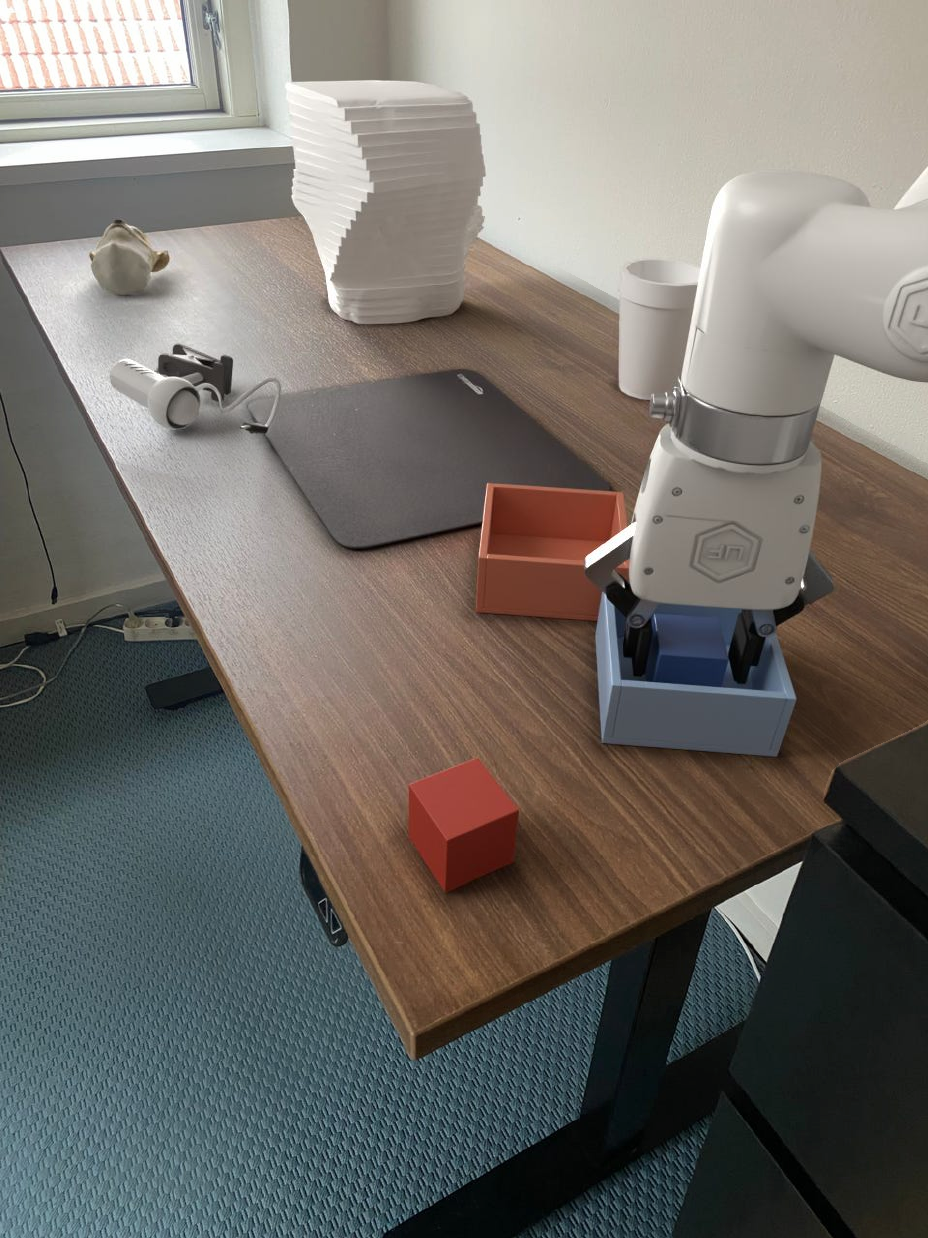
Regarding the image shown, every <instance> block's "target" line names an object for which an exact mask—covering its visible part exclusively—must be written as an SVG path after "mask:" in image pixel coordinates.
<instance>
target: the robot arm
mask: <svg viewBox="0 0 928 1238" xmlns="http://www.w3.org/2000/svg"><path fill="white" fill-rule="evenodd" d="M711 207H712V208H711V211H710V216H709V221H708V226H707V231H706V237H705V243H704V248H703V253H702V259H701V264H700V267H701V270H700V275H699V281H698V286H697V292H696V297H695V303H694V308H693V314H692V320H691V325H690V331H689V336H688V342H687V347H686V353H685V359H684V364H683V369H682V372H681V375H680V377H678V382H677V387H673V390H672V392H665V394H652V395H651V399H650V400H649V406H648V407H649V408H648V415H649V416H648V417H649V418H650V419H661V421H663V422H668V423H666V424H665V425H664V426H663V427H662V428H661V429H660V431H659V433H658V436H657V438H656V440H655V443H654V446H653V448H652V451H651V453H650V456H649V459H648V461H647V464H646V467H645V470H644V473H643V477H642V480H641V484H640V488H639V490H638V491H639V492H638V494H637V499H636V503H635V506H634V510H633V513H632V515H633V516H632V519H631V524H630V525H629V526H628V528H626V529H625V530H624V531H622V532H621V533H619V534H618V535H617V536H615V537H614V538H612V539H611V540H609V541H608V542H607V543H605V544H604V545H602V546H601V547H600V548H598V549H597V550H595V551H594V552H592V553H591V554H590V555H588V556H587V557H586V558H585V559H584V574H585V576H586V577H587V578H588V579H589V580H590V581H591V582H592V583H593V584H594V585H595V586H596V587H597V588H598V589H599V590H600V591H601V590H602V591H603V592H604V593H605V594H606V596H607V599H608V600H609V601H610V602H611V603H612V604H613V605H614V606H615V607H616V608H617V609H618V610H619V611H620V612H621V613H622V614H623V615H624V616H625V617H626V618H627V622H626V628H625V634H624V640H623V656H624V657H625V658H631V659H632V668H633V676H636V677H642V675H645V671H646V666H647V661H648V656H649V651H650V646H651V640H652V635H653V628H652V622H651V616H652V614H653V613H654V612H655V610H656V609H657V608H658V606H659V605H660V603H661V604H672V605H685V606H699V607H713V608H729V609H742V612H741V613H739V614H738V617H737V621H736V625H735V629H734V633H733V636H732V640H731V644H730V648H729V652H728V658H729V663H730V667H731V671H732V675H733V679H734V681H736V682H737V684H746V682H747V678H748V675H749V671H750V668H751V666H755V667H756V666H757V665H758V663H759V660H760V656H761V653H762V649H763V646H764V642H765V639H766V637H769V636H771V635H773V634H774V633H775V632H776V633H777V627H778V626H780V625H782V624H783V623H785V622H786V621H788V620H790V619H792V618H794V617H795V616H797V615H799V614H801V613H802V612H803V611H804V609H805V607H806V606H807V605H812V604H814V603H815V602H818V601H819V600H821V599H822V598H824V597H826V596H828V595H829V594H831V593H832V592H834V591H835V589H836V584H835V582H834V580H833V577H832V575H831V573H830V570H828V569H827V567H826V566H825V565H824V564H823V562H822V561H821V560H820V559H819V558H818V556H817V555H816V554H815V553H814V552H813V550H812V549H811V544H812V539H813V534H814V528H815V523H816V516H817V510H818V504H819V497H820V487H821V478H822V457H823V456H822V453H821V452H820V450H819V449H818V448H817V446H816V445H815V443H814V442H813V441H812V440H811V439H812V436H813V433H814V428H815V425H816V422H817V418H818V414H819V411H820V407H821V404H822V401H823V398H824V395H825V394H824V393H825V390H826V387H827V383H828V380H829V376H830V373H831V369H832V365H833V362H834V358H835V356H838V357H841V358H843V359H845V360H848V361H851V362H853V363H856V364H858V365H861V366H863V367H866V368H869V369H871V370H874V371H877V372H879V373H882V374H884V375H887V376H890V377H894V378H898V379H902V380H905V381H911V382H917V383H927V384H928V165H927V167H925V169H924V170H923V171H922V173H921V174H919V176H918V177H917V179H916V180H915V181H914V182H913V183H912V185H911V186H910V187H909V188H908V189H907V191H905V193H904V195H903V196H902V197H901V199H900V200H899V201H898V202H897V204H896V205H895V206H894V208H883V207H872V206H871V203H870V200H869V198H868V195H866V193H865V192H864V191H863V190H862V189H861V188H860V187H858V186H857V185H855V184H853V183H851V182H849V181H847V180H844V179H842V178H839V177H835V176H830V175H827V174H822V173H816V172H815V173H814V172H809V171H799V170H782V169H777V170H775V169H771V170H770V169H767V170H757V171H749V172H747V173H743V174H738V175H737V176H735V177H733V178H732V179H730V180H729V181H727V182H726V183H725V184H724V185H723V186H722V187H721V188H720V190H719V191H718V193H717V194H716V197H715V199H714V202H713V204H712V206H711ZM628 559H630V563H629V580H630V583H629V582H628V581H627V580H626V579H625V578H624V577H623V576H622V575H620V574H618V573H616V572H615V570H614V569H615V568H616V567H618V566H619V565H621V564H622V563H624V562H625V561H627V560H628Z"/></svg>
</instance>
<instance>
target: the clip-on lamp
mask: <svg viewBox="0 0 928 1238" xmlns="http://www.w3.org/2000/svg"><path fill="white" fill-rule="evenodd" d="M157 360H158V361H157V368H156V369H155V370H152V369H150V368H148V367H146V366H144V365H143V364H140V363H138V362H136V361H134V360H132V359H129V358H123V359H120V360H118V361H117V362H115V363H114V364H113V365H112V367H111V369H110V371H109V382H110V384H111V386H112V388H113V389H114V390H116V391H117V392H119V393H120V394H122V395H124V396H125V397H127V398H129V399H131V400H132V401H134V402H136V403H138V404H139V405H141V406H142V407H145V409H148V411H149V414H150V415H151V418H152V419H153V420H154V421H155V422H156V423H157V424H159V425H160V426H161V427H163V428H165V429H169V430H172V431H179V430H184V429H186V428H188V427H189V426H190V425H191V424H192V423H194V421H196V420H197V418H198V417H199V414H200V408H201V403H202V402H201V395H200V393H199V392H200V391H201V390H203V391H207V392H209V393H210V398H211V400H212V401H214V402H217V403H218V404H219V410H220V412H221V413H222V414H227V413H229V412H231V411H232V410H234V409H235V408H237V407H238V406H239V405H240V404H242V403H243V402H244V401H245V400H246V399H247V398H249V397H251V395H253V393H254V392H256V391H257V390H258V389H260V388H261V387H262V386H264V385H267V384H268V383H271V382H272V383H275V384H276V395H275V396H276V399H275V403H274V406H273V409H272V412H271V415H270V417H269V419H268V421H267V423H266V424H265V426H264V425H262V424H259V423H257V422H251V421H243V423H242V425H241V426H239V429H240V430H245V431H247V432H248V433H249V434H252V435H253V434H256V435H258V434H264V435H265V434H266V433H267V431H268V427H269V426H270V425H271V423H272V421H273V419H274V416H275V413H276V410H277V407H278V403H279V399H280V395H281V389H282V388H281V383H280V380H279V379H278V378H276V377H268V378H265V379H263V380H260V381H259V382H258V383H256V384H255V385H253V386H252V387H251V388H249V389H248V390H247V391H246V392H244V393H243V394H242V395H241V396H240V397H238V398H237V399H236V400H235V401H233V402H232V403H230V404H229V405H228V406H226V407H223V401H224V400H225V396H228V395H230V394H231V393H232V382H233V369H234V359H233V357H231V356H229V355H227V354H222V355H221V356H220V359H218V358H216V357H213V356H211V355H209V354H206V353H204V352H201V351H199V350H197V349H194V348H192V347H189V346H187V345H184V344H182V343H179V342H178V343H176V344H174V345H173V346H172V354H171V353H169V354H168V353H161V354H159V356H158V359H157Z"/></svg>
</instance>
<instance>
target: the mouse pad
mask: <svg viewBox="0 0 928 1238" xmlns="http://www.w3.org/2000/svg"><path fill="white" fill-rule="evenodd" d="M275 399H276V395H274V396H273V395H272V396H267V397H261V398H259V399H258V398H257V399H255V400H253V401H251V402H250V403H249V404H248V411H249V413H250V415H251V416H252V418H253V419H254V421H255V423H259V424H262V425H264V426H265V424H266V423H267V421H268V419H269V417H270V415H271V412H272V409H273V406H274V403H275ZM264 436H265V438H266V439H267V441H268V442H269V444H270V445H271V447H272V448H273V449H274V452H275V453H276V455H277V456H278V458H279V459H280V460H281V462H282V464H283V465H284V466H285V468H286V470H287V472H288V473H289V475H290V476H291V478H292V479H293V480H294V482H295V483H296V485H297V486H298V489H299V490H300V491H301V493H302V495H303V496H304V497H305V498H306V499H305V500H307V502H308V503H309V505H310V507H311V508H312V510H313V511H314V513H315V514H316V516H317V517H318V518H319V520H320V521H321V523H322V525H323V526H324V528H325V529H326V531H327V532H328V534H329V535H330V537H331V538H332V539H333V541H335V542H336V543H337V544H338V545H340V546H341V547H343V548H346V549H351V550H361V549H363V550H364V549H370V548H375V547H380V546H384V545H385V546H386V545H389V544H394V543H398V542H403V541H407V540H412V539H418V538H421V537H425V536H431V535H435V534H440V533H445V532H449V531H454V530H458V529H464V528H468V527H471V526H477V525H482V524H483V515H484V506H485V497H486V488H487V483H494V484H510V485H524V486H539V487H553V488H568V489H582V490H597V491H611V485H610V484H609V482H608V481H607V480H606V479H605V478H604V477H603V476H601V475H600V474H599V473H598V472H597V471H595V470H594V469H593V468H592V467H591V466H590V465H588V463H586V462H585V461H583V460H582V459H581V458H580V457H579V456H578V455H577V454H575V453H574V452H573V451H572V450H571V449H569V447H567V446H566V445H565V444H564V443H562V442H561V441H560V440H559V439H558V438H557V437H556V436H554V435H553V434H552V433H551V432H549V430H547V429H546V428H545V427H544V426H543V425H541V424H540V423H539V422H538V421H537V420H536V419H534V417H532V416H530V415H529V414H528V413H527V412H526V411H525V410H524V409H522V408H521V407H520V406H519V405H517V404H516V402H514V401H513V400H512V399H510V398H509V397H508V396H507V395H506V394H505V393H503V392H502V391H501V390H500V389H499V388H497V386H495V385H494V384H493V383H492V382H491V381H489V380H488V379H487V378H485V376H483V375H482V374H480V373H479V372H478V371H475V370H473V369H468V368H457V369H456V368H455V369H448V370H447V369H446V370H442V371H441V370H440V371H435V372H428V373H427V372H426V373H419V374H414V375H406V376H399V377H393V378H387V379H380V380H372V381H366V382H360V383H353V384H347V385H340V386H339V385H338V386H334V387H327V388H320V389H319V388H318V389H314V390H307V391H300V392H294V393H293V392H292V393H286V394H280V399H279V403H278V407H277V410H276V413H275V416H274V419H273V421H272V423H271V425H270V426H269V427H268V431H267V433H266V434H264Z"/></svg>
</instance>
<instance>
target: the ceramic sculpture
mask: <svg viewBox="0 0 928 1238" xmlns="http://www.w3.org/2000/svg"><path fill="white" fill-rule="evenodd" d="M149 241H150V240H149V239H148V238H147V236H146V234H145V233H144V232H143V231H142V230H141V229H140V228H138V227H136V226H133V225H129V224H127V223H126V222H125V220H123V219H120V218H117V219H115V220H113V221H112V223H111V224H110V225H108V227H107V228H106V229H105V230H104V231H103V233H102V235H101V236H100V240H99V241H98V242H97V244H96V247H95V252H93V251H90V252H89V254H88V257H89V259H90V262H91V263H90V269H91V271H92V272H91V273H92V274H93V276H94V278H95V280H96V282H97V283H98V285H100V286H101V288H102V289H103V290H105V291H106V292H108V293H110V294H115V295H119V296H130V295H134V294H139V293H141V292H143V291H144V290H145V289H146V288H147V286H148V283H149V281H150V278H151V273H157V272H160V271H162V270H164V269H165V268H166V267H167V266H168V265H169V263H170V257H171V256H170V255H169V251H168V250H163V251H156V250H153V247H152V244H151V243H150V242H149Z"/></svg>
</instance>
